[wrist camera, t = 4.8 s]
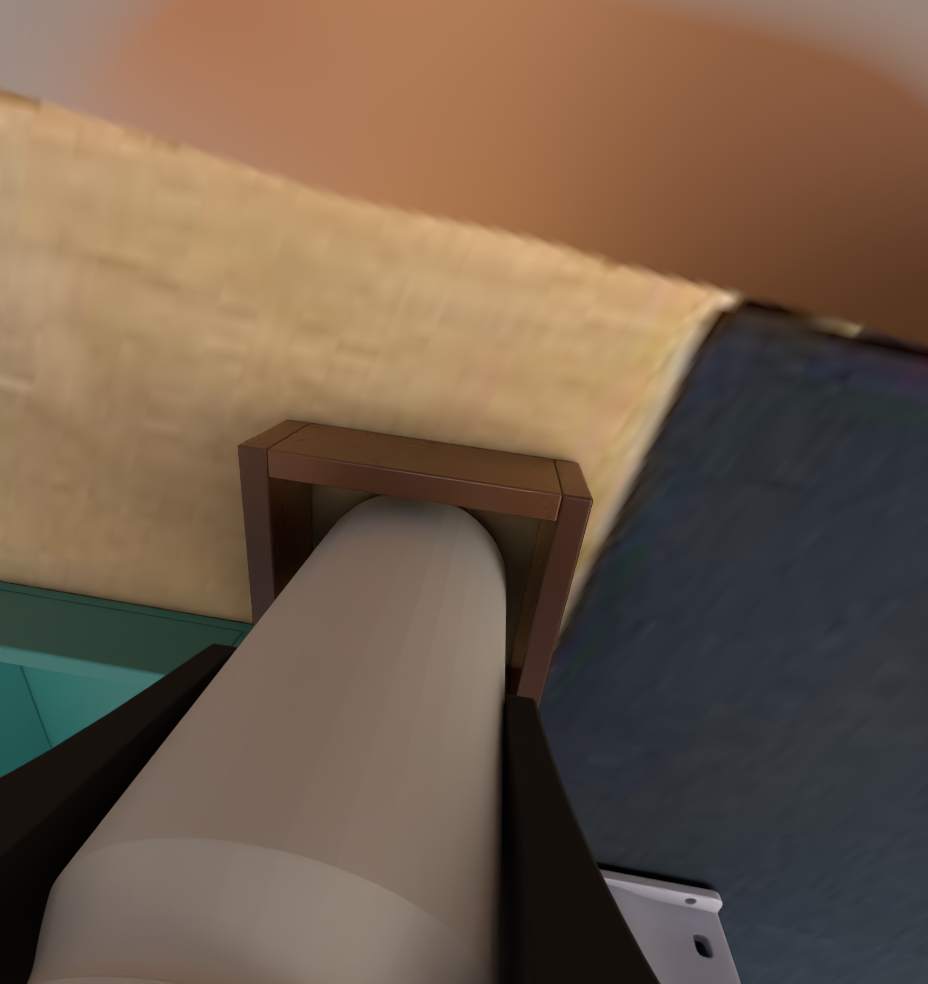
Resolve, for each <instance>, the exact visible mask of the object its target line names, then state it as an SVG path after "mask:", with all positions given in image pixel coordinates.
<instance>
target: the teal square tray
mask: <svg viewBox="0 0 928 984" xmlns="http://www.w3.org/2000/svg"><path fill="white" fill-rule="evenodd" d="M253 628H254V626H253V625H251V624H245V623H239V622H233V621H227V620H221V619H215V618H209V617H204V616H198V615H192V614H186V613H180V612H174V611H168V610H162V609H156V608H151V607H145V606H139V605H133V604H127V603H121V602H115V601H109V600H104V599H98V598H92V597H86V596H80V595H74V594H68V593H62V592H57V591H51V590H45V589H39V588H33V587H27V586H21V585H15V584H9V583H4V582H0V777H2V776H4V775H6V774H8V773H9V772H11V771H13V770H15V769H17V768H19V767H20V766H22V765H24V764H26V763H27V762H29V761H31V760H33V759H34V758H36V757H38V756H40V755H41V754H43V753H45V752H46V751H48V750H50V749H52V748H53V747H55V746H56V745H58V744H60V743H61V742H63V741H65V740H66V739H68V738H69V737H71V736H73V735H74V734H76V733H77V732H79V731H81V730H82V729H84V728H86V727H87V726H89V725H90V724H92V723H94V722H95V721H97V720H99V719H100V718H102V717H103V716H105V715H107V714H108V713H110V712H111V711H113V710H114V709H116V708H117V707H119V706H120V705H122V704H123V703H125V702H126V701H128V700H129V699H131V698H133V697H134V696H136V695H137V694H139V693H140V692H142V691H143V690H145V689H146V688H148V687H149V686H151V685H152V684H154V683H155V682H157V681H158V680H159V679H161V678H162V677H164V676H165V675H167V674H168V673H170V672H171V671H173V670H174V669H176V668H177V667H179V666H180V665H182V664H183V663H185V662H186V661H187V660H189V659H190V658H192V657H193V656H195V655H196V654H198V653H199V652H201V651H202V650H204V649H205V648H207V647H208V646H210V645H211V644H213V643H215V644H221V645H227V646H232V647H239V646H240V644H241V643H242V642H243V640H244V639H245V638H246V637H247V635H248V634H249V633H250V632H251V630H252V629H253Z"/></svg>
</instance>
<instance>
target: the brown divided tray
mask: <svg viewBox="0 0 928 984" xmlns="http://www.w3.org/2000/svg"><path fill="white" fill-rule="evenodd" d="M238 455H239V467H240V478H241V489H242V501H243V512H244V523H245V535H246V546H247V558H248V569H249V580H250V592H251V603H252V614H253V626H255V625H256V624H257V623H258V621H259V620H260V619H261V618H262V616H263V615H264V614H265V612H266V611H267V610H268V609H269V607H270V606H271V605H272V604H273V602H274V601H275V600H276V598H277V597H278V596H279V595H280V593H281V592H282V591H283V590H284V588H285V587H286V586H287V584H288V583H289V582H290V581H291V579H292V578H293V577H294V576H295V574H296V573H297V572H298V570H299V569H300V568H301V567H302V565H303V564H304V563H305V562H306V560H307V559H308V558H309V556H310V555H311V554H312V517H311V484H318V485H324V486H331V487H337V488H344V489H350V490H357V491H363V492H370V493H376V494H383V495H389V496H396V497H402V498H408V499H415V500H421V501H428V502H434V503H441V504H447V505H454V506H460V507H467V508H473V509H480V510H486V511H492V512H499V513H505V514H512V515H518V516H525V517H531V518H538V519H541V523H540V528H539V532H538V537H537V541H536V546H535V551H534V555H533V560H532V565H531V569H530V574H529V578H528V583H527V588H526V592H525V597H524V602H523V606H522V611H521V615H520V620H519V625H518V629H517V634H516V639H515V643H514V648H513V652H512V657H511V662H510V666H509V668H508V667H507V666H505V692H504V705H505V700H506V696H507V694H510V695H516V696H522V697H527V698H533V699H534V700H535V701H536V703H537V706H538V708H539V704H540V700H541V696H542V693H543V689H544V685H545V681H546V678H547V674H548V670H549V666H550V662H551V659H552V655H553V651H554V647H555V644H556V640H557V636H558V632H559V628H560V625H561V621H562V617H563V613H564V609H565V606H566V602H567V598H568V594H569V591H570V587H571V583H572V579H573V575H574V572H575V568H576V564H577V560H578V557H579V553H580V549H581V545H582V541H583V538H584V534H585V530H586V526H587V522H588V519H589V515H590V511H591V507H592V504H593V498H592V496H591V493H590V491H589V488H588V486H587V483H586V481H585V478H584V476H583V473H582V471H581V468H580V466H579V464H577V463H572V462H565V461H559V460H556V461H553V460H552V459H547V458H540V457H533V456H527V455H520V454H513V453H506V452H500V451H493V450H486V449H480V448H473V447H466V446H459V445H453V444H446V443H439V442H432V441H426V440H419V439H412V438H406V437H399V436H392V435H385V434H379V433H372V432H365V431H358V430H352V429H345V428H338V427H332V426H325V425H318V424H309V423H305V422H298V421H291V420H285V421H283V422H281V423H280V424H278V425H276V426H274V427H272V428H270V429H268V430H266V431H264V432H263V433H261V434H259V435H257V436H255V437H253V438H251V439H249V440H247V441H245V442H244V443H242V444H240V445H238Z"/></svg>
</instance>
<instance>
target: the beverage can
mask: <svg viewBox="0 0 928 984" xmlns="http://www.w3.org/2000/svg"><path fill="white" fill-rule="evenodd" d="M505 637H506V571H505V566H504V562H503V558H502V556H501V553H500V551H499V549H498V547H497V545H496V543H495V541H494V540H493V538H492V537H491V535H490V534H489V533H488V531H487V530H486V529H485V528H484V527H483V526H482V525H481V524H480V523H479V522H478V521H477V520H476V519H475V518H474V517H472V516H471V515H470V514H468V513H467V512H466V511H464V510H463V509H461V508H459V507H457V506H454V505H447V504H441V503H434V502H428V501H421V500H415V499H408V498H402V497H396V496H389V495H381V496H377V497H374V498H371V499H368V500H366V501H363V502H361V503H360V504H358V505H357V506H355V507H354V508H352V509H351V510H350V511H348V512H347V513H345V514H344V515H343V516H342V517H341V518H340V519H339V520H338V521H337V522H336V523H335V525H334V526H333V527H332V528H331V530H330V531H329V532H328V533H327V535H326V536H325V537H324V539H323V540H322V541H321V542H320V544H319V545H318V546H317V547H316V549H315V550H314V551H313V553H312V554H311V555H310V556H309V558H308V559H307V560H306V562H305V563H304V564H303V565H302V567H301V568H300V569H299V570H298V572H297V573H296V574H295V576H294V577H293V578H292V579H291V581H290V582H289V583H288V584H287V586H286V587H285V588H284V590H283V591H282V592H281V593H280V595H279V596H278V597H277V598H276V600H275V601H274V602H273V604H272V605H271V606H270V607H269V609H268V610H267V611H266V612H265V614H264V615H263V616H262V618H261V619H260V620H259V621H258V623H257V624H256V625H255V626H254V628H253V629H252V630H251V632H250V633H249V634H248V635H247V637H246V638H245V639H244V640H243V642H242V643H241V644H240V646H239V647H238V648H237V649H236V651H235V652H234V653H233V655H232V656H231V657H230V658H229V660H228V661H227V662H226V663H225V665H224V666H223V667H222V669H221V670H220V671H219V672H218V674H217V675H216V676H215V677H214V679H213V680H212V681H211V683H210V684H209V685H208V686H207V688H206V689H205V690H204V691H203V693H202V694H201V695H200V697H199V698H198V699H197V700H196V702H195V703H194V704H193V705H192V707H191V708H190V709H189V711H188V712H187V713H186V714H185V716H184V717H183V718H182V719H181V721H180V722H179V723H178V725H177V726H176V727H175V728H174V730H173V731H172V732H171V733H170V735H169V736H168V737H167V739H166V740H165V741H164V742H163V744H162V745H161V746H160V748H159V749H158V750H157V751H156V753H155V754H154V755H153V756H152V758H151V759H150V760H149V762H148V763H147V764H146V765H145V767H144V768H143V769H142V770H141V772H140V773H139V774H138V776H137V777H136V778H135V779H134V781H133V782H132V783H131V784H130V786H129V787H128V788H127V790H126V791H125V792H124V793H123V795H122V796H121V797H120V798H119V800H118V801H117V802H116V804H115V805H114V806H113V807H112V809H111V810H110V811H109V812H108V814H107V815H106V816H105V818H104V819H103V820H102V821H101V823H100V824H99V825H98V826H97V828H96V829H95V830H94V832H93V833H92V834H91V835H90V837H89V838H88V839H87V841H86V842H85V843H84V844H83V846H82V847H81V848H80V849H79V851H78V852H77V853H76V855H75V856H74V857H73V858H72V860H71V861H70V862H69V863H68V865H67V866H66V867H65V869H64V870H63V871H62V872H61V874H60V875H59V876H58V878H57V879H56V881H55V882H54V884H53V886H52V888H51V891H50V893H49V897H48V901H47V904H46V908H45V912H44V916H43V920H42V924H41V929H40V934H39V939H38V944H37V949H36V955H35V960H34V965H33V969H32V972H31V975H30V978H29V980H28V983H27V984H499V969H500V913H501V858H502V803H503V733H504V692H505Z"/></svg>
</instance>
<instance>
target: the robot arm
mask: <svg viewBox="0 0 928 984" xmlns="http://www.w3.org/2000/svg"><path fill="white" fill-rule="evenodd" d="M237 648H238V647H232V646H227V645H221V644H215V643H213V644H211V645H210V646H208V647H207V648H205V649H204V650H202V651H201V652H199V653H198V654H196V655H195V656H193V657H192V658H190V659H189V660H187V661H186V662H185V663H183V664H182V665H180V666H179V667H177V668H176V669H174V670H173V671H171V672H170V673H168V674H167V675H165V676H164V677H162V678H161V679H159V680H158V681H157V682H155V683H154V684H152V685H151V686H149V687H148V688H146V689H145V690H143V691H142V692H140V693H139V694H137V695H136V696H134V697H133V698H131V699H129V700H128V701H126V702H125V703H123V704H122V705H120V706H119V707H117V708H116V709H114V710H113V711H111V712H110V713H108V714H107V715H105V716H103V717H102V718H100V719H99V720H97V721H95V722H94V723H92V724H90V725H89V726H87V727H86V728H84V729H82V730H81V731H79V732H77V733H76V734H74V735H73V736H71V737H69V738H68V739H66V740H65V741H63V742H61V743H60V744H58V745H56V746H55V747H53V748H52V749H50V750H48V751H46V752H45V753H43V754H41V755H40V756H38V757H36V758H34V759H33V760H31V761H29V762H27V763H26V764H24V765H22V766H20V767H19V768H17V769H15V770H13V771H11V772H9V773H8V774H6V775H4V776H2V777H0V984H27V983H28V980H29V978H30V975H31V972H32V969H33V965H34V960H35V955H36V949H37V944H38V939H39V934H40V929H41V924H42V920H43V916H44V912H45V908H46V904H47V901H48V897H49V893H50V891H51V888H52V886H53V884H54V882H55V881H56V879H57V878H58V876H59V875H60V874H61V872H62V871H63V870H64V869H65V867H66V866H67V865H68V863H69V862H70V861H71V860H72V858H73V857H74V856H75V855H76V853H77V852H78V851H79V849H80V848H81V847H82V846H83V844H84V843H85V842H86V841H87V839H88V838H89V837H90V835H91V834H92V833H93V832H94V830H95V829H96V828H97V826H98V825H99V824H100V823H101V821H102V820H103V819H104V818H105V816H106V815H107V814H108V812H109V811H110V810H111V809H112V807H113V806H114V805H115V804H116V802H117V801H118V800H119V798H120V797H121V796H122V795H123V793H124V792H125V791H126V790H127V788H128V787H129V786H130V784H131V783H132V782H133V781H134V779H135V778H136V777H137V776H138V774H139V773H140V772H141V770H142V769H143V768H144V767H145V765H146V764H147V763H148V762H149V760H150V759H151V758H152V756H153V755H154V754H155V753H156V751H157V750H158V749H159V748H160V746H161V745H162V744H163V742H164V741H165V740H166V739H167V737H168V736H169V735H170V733H171V732H172V731H173V730H174V728H175V727H176V726H177V725H178V723H179V722H180V721H181V719H182V718H183V717H184V716H185V714H186V713H187V712H188V711H189V709H190V708H191V707H192V705H193V704H194V703H195V702H196V700H197V699H198V698H199V697H200V695H201V694H202V693H203V691H204V690H205V689H206V688H207V686H208V685H209V684H210V683H211V681H212V680H213V679H214V677H215V676H216V675H217V674H218V672H219V671H220V670H221V669H222V667H223V666H224V665H225V663H226V662H227V661H228V660H229V658H230V657H231V656H232V655H233V653H234V652H235V651H236V649H237ZM721 907H722V901H721V898H720V895H719V894H718V893H717V892H716V891H713V890H709V889H704V888H699V887H693V886H688V885H683V884H677V883H672V882H667V881H661V880H656V879H651V878H645V877H640V876H635V875H629V874H624V873H619V872H614V871H608V870H603V869H599V867H598V865H597V863H596V861H595V858H594V856H593V854H592V852H591V850H590V848H589V845H588V843H587V841H586V839H585V836H584V834H583V832H582V830H581V827H580V825H579V823H578V820H577V818H576V816H575V813H574V811H573V808H572V806H571V803H570V801H569V798H568V796H567V793H566V791H565V788H564V786H563V783H562V780H561V778H560V775H559V773H558V770H557V767H556V764H555V762H554V759H553V756H552V753H551V750H550V747H549V744H548V741H547V738H546V735H545V731H544V728H543V725H542V721H541V717H540V714H539V710H538V706H537V703H536V701H535V700H534V699H533V698H527V697H522V696H516V695H510V694H507V696H506V700H505V705H504V733H503V803H502V858H501V913H500V969H499V984H741V983H740V980H739V977H738V974H737V971H736V968H735V965H734V962H733V959H732V956H731V953H730V950H729V947H728V944H727V941H726V938H725V935H724V932H723V929H722V926H721V923H720V920H719V917H718V914H717V913H718V911H719V910H720V908H721Z"/></svg>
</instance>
